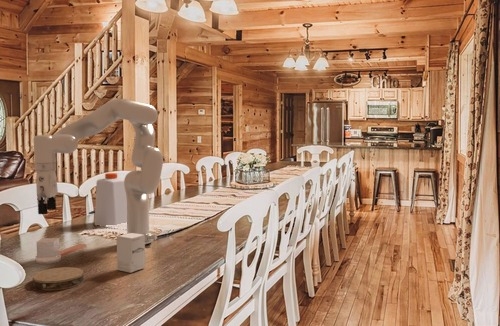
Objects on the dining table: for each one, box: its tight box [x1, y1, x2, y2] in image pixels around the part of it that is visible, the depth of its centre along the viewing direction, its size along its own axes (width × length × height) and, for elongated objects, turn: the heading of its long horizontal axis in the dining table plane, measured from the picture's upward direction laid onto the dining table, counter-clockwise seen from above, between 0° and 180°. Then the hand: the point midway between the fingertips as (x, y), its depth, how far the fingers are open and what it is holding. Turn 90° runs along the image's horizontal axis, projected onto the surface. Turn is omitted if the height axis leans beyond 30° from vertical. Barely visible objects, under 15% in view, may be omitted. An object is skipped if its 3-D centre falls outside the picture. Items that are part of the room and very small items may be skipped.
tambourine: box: [32, 266, 84, 291], centre depth 165 cm, size 16×16×3 cm
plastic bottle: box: [94, 172, 127, 227], centre depth 256 cm, size 15×15×28 cm
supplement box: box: [116, 233, 146, 274], centre depth 179 cm, size 7×7×13 cm
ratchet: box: [35, 243, 87, 265], centre depth 198 cm, size 9×26×6 cm, turn 164°
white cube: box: [36, 237, 61, 258], centre depth 190 cm, size 6×6×6 cm
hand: (47, 211), depth 189 cm, fingers open, 9 cm apart
